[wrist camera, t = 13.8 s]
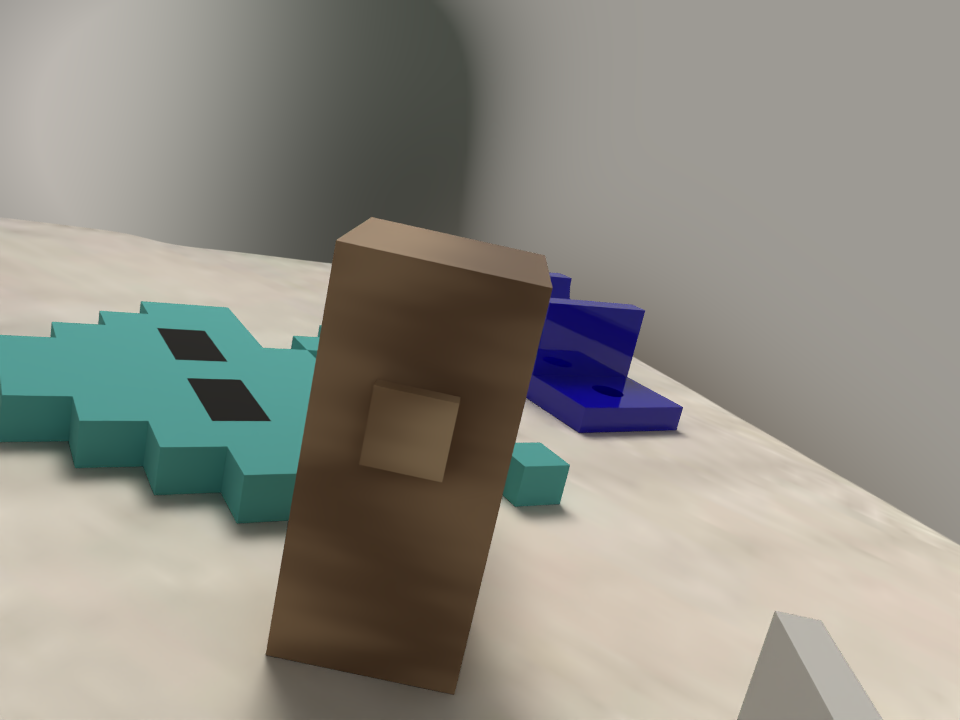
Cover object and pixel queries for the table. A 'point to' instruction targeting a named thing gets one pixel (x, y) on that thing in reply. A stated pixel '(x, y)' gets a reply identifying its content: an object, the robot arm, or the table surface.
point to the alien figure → (190, 406)
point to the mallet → (406, 450)
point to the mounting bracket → (594, 367)
